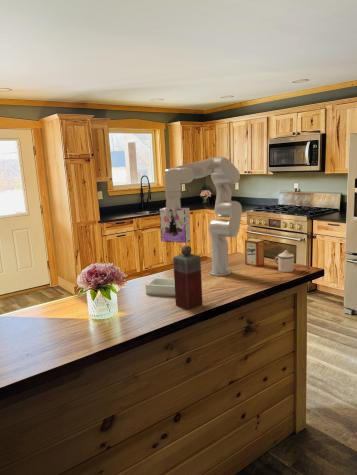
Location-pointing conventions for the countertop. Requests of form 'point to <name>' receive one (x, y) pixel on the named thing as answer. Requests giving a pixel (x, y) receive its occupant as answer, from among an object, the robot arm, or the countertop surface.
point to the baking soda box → (254, 252)
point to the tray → (161, 287)
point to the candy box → (181, 226)
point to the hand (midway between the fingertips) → (175, 230)
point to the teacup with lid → (285, 262)
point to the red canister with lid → (187, 279)
